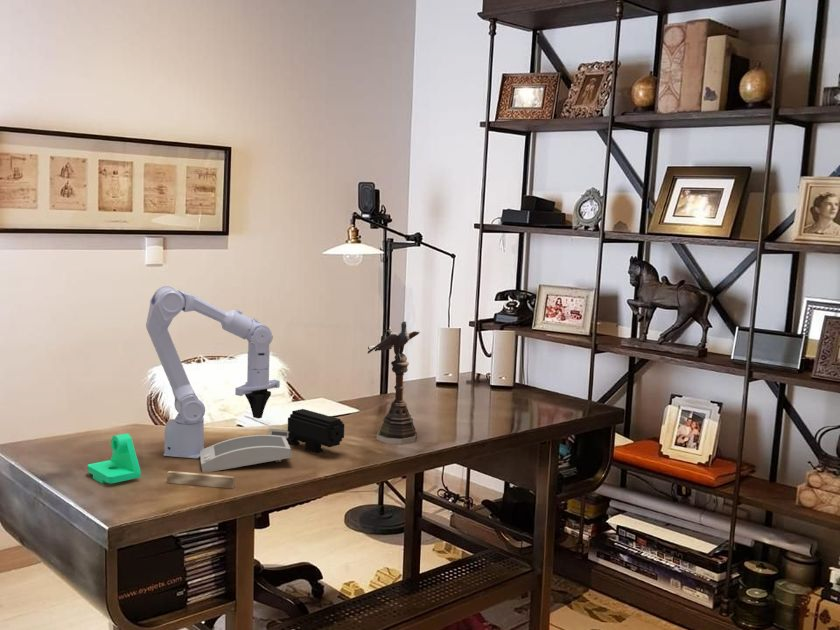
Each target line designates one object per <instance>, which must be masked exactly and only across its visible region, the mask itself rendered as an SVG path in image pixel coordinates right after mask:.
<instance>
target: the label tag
mask: <svg viewBox="0 0 840 630" xmlns="http://www.w3.org/2000/svg"><path fill="white" fill-rule="evenodd" d="M268 435H277V436H284V437H286V438H288V428H286V429H285V428H273V427H269V428H268Z"/></svg>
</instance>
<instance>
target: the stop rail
mask: <svg viewBox="0 0 840 630" xmlns="http://www.w3.org/2000/svg"><path fill="white" fill-rule="evenodd" d="M235 479H236V478H235V476H231V475H224V474H223V475H222V474H221V475H220V474H209V473H197V472H187V471H174V470H173V471H172V470H169V471H167V472H166V483H167V484H175V485H176V484H179V485H190V486H198V487H199V486H202V487H212V488H222V489H223V488H224V489H234V488H235Z"/></svg>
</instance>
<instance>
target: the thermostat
mask: <svg viewBox="0 0 840 630" xmlns="http://www.w3.org/2000/svg"><path fill="white" fill-rule="evenodd" d="M204 448H205V449H203V450H201V451H200V457H199V458H200V466H201V471H202V473H210V472H218V471H222V470H228V469H235V468H241V467H244V466H245V467H246V466H251V465H257V464H262V463H267V462H274V461H275V463H282V460H286V459H291V458H293V454H292V450H291V449H292V448H291V445H289V444H288V442H287V439H286V437H284V436H277V435H269V434H251V435H244V436H243V435H242V436H238V437H234V438H233V437H231V438H230V439H226V440H223V441H220V442H219V441H218V442H217V443H215V444H211V445H209V446H208V447H204Z"/></svg>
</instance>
